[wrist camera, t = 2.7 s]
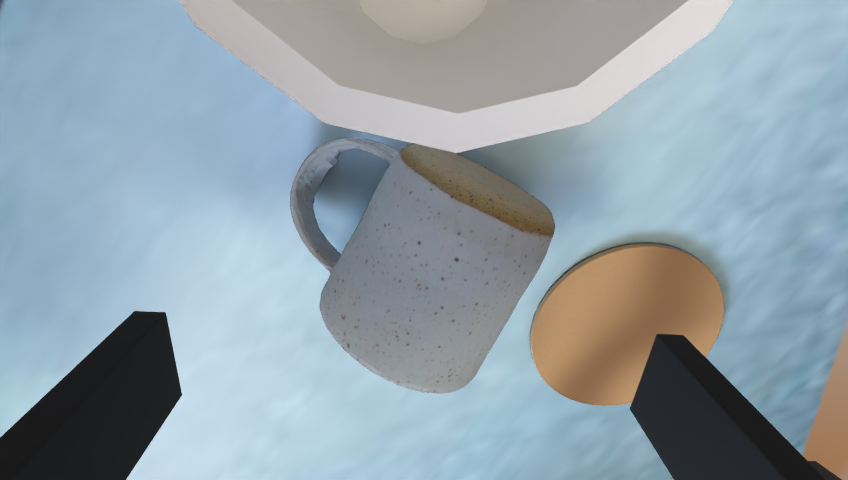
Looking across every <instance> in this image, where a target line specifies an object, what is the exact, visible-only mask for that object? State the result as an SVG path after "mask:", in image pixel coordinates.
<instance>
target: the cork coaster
mask: <svg viewBox="0 0 848 480" xmlns="http://www.w3.org/2000/svg"><path fill="white" fill-rule="evenodd" d="M723 315H724V302H723V295H722V291H721V288H720V285H719V283H718V281H717V279H716V277H715V276H714V274H713V273H712V272H711V271H710V269H709V268H708V267H707V266H706V265H705V264H703V263H702V262H701V261H700V260H698V259H697V258H695V257H694V256H692V255H691V254H689V253H687V252H685V251H683V250H680V249H678V248H675V247H671V246H667V245H662V244H653V243H638V244H631V245H624V246H620V247H616V248H611V249H609V250H606V251H603V252H600V253H598V254H596V255H594V256H592V257H590V258H588V259H586V260H584V261H582V262H581V263H579V264H578V265H576V266H574V267H573V268H572V269H570V270H569V271H568V272H567V273H565V274H564V275H563V276H562V277H561V278H560V279H559V280H558V281H557V282H556V283H555V284H554V285H553V286H552V287H551V289H550V290H549V291H548V292H547V293H546V295H545V296H544V298H543V300H542V301H541V303H540V304H539V307H538V309H537V311H536V313H535V315H534V319H533V322H532V326H531V332H530V349H531V354H532V358H533V360H534V363H535V366H536V368H537V370H538V372H539V373H540V375H541V377H542V378H543V379H544V380H545V381H546V383H547V384H548V385H549V386H551V387H552V388H553V389H554V390H555V391H557V392H558V393H560V394H561V395H563V396H565V397H567V398H570V399H572V400H575V401H578V402H581V403H586V404H591V405H602V406H606V405H621V404H627V403H632V401H633V399H634V396H635V393H636V390H637V388H638V385H639V382H640V379H641V376H642V374H643V371H644V368H645V365H646V362H647V360H648V357H649V354H650V351H651V349H652V346H653V343H654V340H655V337H656V335H657V334H674V335H684V336H685V337H686V338H687V339H688V340H689V341H690V342H691V343H692V344H693V345H694V346H695V347H696V348H697V349H698V350H699V351H700V352H701V353H702V354H703V355H704V356H705V357H706V356H707V354H708V353H709V351H710V350H711V348H712V347H713V345H714V343H715V341H716V339H717V337H718V334H719V331H720V329H721V326H722V321H723Z"/></svg>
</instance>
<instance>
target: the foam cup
mask: <svg viewBox="0 0 848 480" xmlns="http://www.w3.org/2000/svg"><path fill="white" fill-rule="evenodd" d="M179 1H180V2H181V4H182V6H183V7H184V9H185V10H186V12H187V14H188V15H189V17H190V18H191V20H192V21H193V23H194V25H195V26H196V27H197V28H199V29H200V30H201V31H203V32H204V33H205V34H207V35H208V36H209V37H211V38H212V39H213V40H215V41H216V42H217V43H219V44H220V45H221V46H223V47H224V48H225V49H227V50H228V51H229V52H231V53H232V54H233V55H235V56H236V57H237V58H238V59H240V60H241V61H242V62H244V63H245V64H246V65H248V66H249V67H250V68H252V69H253V70H254V71H256V72H257V73H258V74H260V75H261V76H262V77H264V78H265V79H266V80H268V81H269V82H270V83H272V84H273V85H274V86H276V87H277V88H278V89H280V90H281V91H282V92H283V93H285V94H286V95H287V96H289V97H290V98H291V99H293V100H294V101H295V102H297V103H298V104H299V105H301V106H302V107H303V108H305V109H306V110H307V111H309V112H310V113H311V114H313V115H314V116H315V117H317V118H318V119H319V120H321V121H322V122H323V123H326V124H330V125H335V126H339V127H343V128H348V129H352V130H357V131H361V132H366V133H370V134H374V135H379V136H383V137H388V138H392V139H396V140H401V141H405V142H410V143H414V144H419V145H423V146H427V147H432V148H436V149H441V150H445V151H450V152H454V153H460V152H464V151H468V150H472V149H477V148H481V147H485V146H490V145H494V144H498V143H503V142H507V141H511V140H516V139H520V138H524V137H529V136H533V135H537V134H542V133H546V132H550V131H555V130H559V129H563V128H568V127H572V126H576V125H581V124H585V123H588V122H590V121H591V120H593V119H594V118H595V117H597V116H598V115H599V114H601V113H602V112H603V111H605V110H606V109H607V108H609V107H610V106H611V105H613V104H614V103H616V102H617V101H618V100H620V99H621V98H622V97H624V96H625V95H626V94H628V93H629V92H630V91H632V90H633V89H635V88H636V87H637V86H639V85H640V84H641V83H643V82H644V81H645V80H647V79H648V78H649V77H651V76H652V75H654V74H655V73H656V72H658V71H659V70H660V69H662V68H663V67H664V66H666V65H667V64H668V63H670V62H671V61H673V60H674V59H675V58H677V57H678V56H679V55H681V54H682V53H683V52H685V51H686V50H687V49H689V48H690V47H691V46H693V45H694V44H696V43H697V42H698V41H700V40H701V39H702V38H704V37H705V36H706V35H708V34H709V33H710V32H712V31H713V30H714V29H715V27H716V26H717V24H718V23H719V21H720V20H721V18H722V17H723V15H724V14H725V12H726V11H727V9H728V8H729V6H730V5H731V3H732V2H733V1H734V0H179Z"/></svg>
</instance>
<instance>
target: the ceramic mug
mask: <svg viewBox="0 0 848 480" xmlns="http://www.w3.org/2000/svg"><path fill="white" fill-rule="evenodd" d="M356 148H359V149H361V150H364V151H367V152H369V153H372V154H375V155H377V156H378V157H380V158H382V159H385V160H386V161H387V162H388V163H389V167H388V169H387V170H386V171H385V173H384V175H383V177H382V179H381V180H380V182H379V184H378V186H377V188H376V190H375V192H374V194H373V196H372V198H371V200H370V202H369V204H368V207H367V209H366V211H365V212H364V214H363V216H362V218H361V220H360V222H359V224H358V226H357V228H356V230H355V231H354V233H353V235H352V236H351V238H350V240H349V241H348V243H347V245H346V247H345V249H344V251H343V253H342V255H341V254H340V253H339V252H338V251H337V250H336V249H335V248H334V247H333V246H332V245H331V243H330V242H329V241H328V240H327V239H326V237H325V236H324V234H323V233H322V231H321V230H320V229H319V226H318V223H317V221H316V218H315V214H314V211H313V203H314V195H315V193H316V191H317V189H318V188H319V186H320V184H321V182H322V180H323V178H324V177H325V175H326V173H327V172H328V171H329V169H330V168H331V167H332V166H334V165H336V163H337V158H338V154H339V153H341V152H343V151H345V150H349V149H356ZM290 208H291V214H292V218H293V221H294V224H295V227H296V229H297V231H298V233H299V235H300V237H301V239H302V241H303V242H304V244H305V245H306V247H307V248H308V250H309V251H310V252H311V253H312V255H313V256H314V257H315V258H316V259H317V260H318V261H319V262H320V263H321V264H322V265H323V266H324V267H325V268H326V269H328V270H329V271H330V277H329V279H328V281H327V282H326V284H325V286H324V288H323V290H322V293H321V299H320V311H321V315H322V318H323V320H324V322H325V324H326V327H327V329H328V330H329V331H330V333H331V334H332V336H333V338H334V339H335V340H336V341H337V342H338V343H339V344H340V345H341V347H342V348H343V349H344V350H345V351H346V352H347V353H349V354H350V355H351V356H352V357H353V358H354V359H356V360H357V361H358V362H359V363H361V364H362V365H363V366H364V367H366V368H367V369H369V370H370V371H371V372H373V373H375V374H377V375H379V376H381V377H382V378H384V379H386V380H388V381H391V382H393V383H395V384H397V385H399V386H402V387H405V388H408V389H412V390H416V391H420V392H426V393H450V392H454V391H457V390H459V389H461V388H463V387H464V386H466V385H467V384H468V383H469V382H470V381H472V379H473V378H474V376H475V375H476V374H477V372H478V370H479V368H480V366H481V365H482V363H483V361H484V359H485V358H486V356H487V354H488V352H489V351H490V349H491V348H492V346H493V344H494V343H495V341H496V339H497V337H498V336H499V334H500V332H501V331H502V329H503V327H504V326H505V324H506V322H507V321H508V319H509V318H510V316H511V314H512V312H513V310H514V309H515V307H516V305H517V303H518V301H519V300H520V298H521V297H522V295H523V293H524V292H525V290H526V289H527V287H528V286H529V284H530V282H531V281H532V279H533V278H534V276H535V274H536V273H537V271H538V269H539V267H540V265H541V263H542V261H543V260H544V257H545V255H546V253H547V250H548V247H549V245H550V242H551V239H552V237H553V234H554V229H555V224H554V219H553V216H552V213H551V212H550V210H549V209H548V208H547V207H546V206H545V205H544V204H543V203H542V202H541V201H539V200H538V199H536V198H535V197H534V196H532V195H531V194H529V193H528V192H526V191H525V190H523V189H521V188H520V187H518V186H517V185H515V184H513V183H511V182H510V181H508V180H506V179H505V178H503V177H501V176H499V175H498V174H496V173H494V172H492V171H490V170H489V169H487V168H485V167H483V166H481V165H479V164H477V163H475V162H473V161H471V160H469V159H467V158H465V157H463V156H461V155H458V154H456V153H454V152H450V151H445V150H441V149H436V148H432V147H427V146H423V145H419V144H411V145H408V146H407V147H405V148H403V150H402V151H401V152H400V153H399V152H398V151H396V150H394V149H393V148H392V147H390V146H388V145H385V144H382V143H378V142H375V141H372V140H368V139H360V138H350V137H348V138H339V139H335V140H332V141H328V142H326V143H325V144H323V145H321V146H319V147H317V148H316V149H315V150H314V151H313V152H312V153H311V154H310V155H309V156H308V157H307V158H306V159H305V160H304V162H303V163H302V165H301V167H300V169H299V171H298V173H297V175H296V177H295V180H294V182H293V185H292V189H291V195H290Z"/></svg>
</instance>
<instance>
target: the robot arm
mask: <svg viewBox="0 0 848 480" xmlns="http://www.w3.org/2000/svg"><path fill="white" fill-rule="evenodd" d="M181 396H182V393H181V388H180V383H179V378H178V373H177V368H176V362H175V357H174V352H173V347H172V342H171V337H170V332H169V327H168V322H167V317H166V313H165V312H141V311H134V312H133V313H132V314H131V315H130V316H129V317H128V318H127V319H126V320H125V321H124V322H123V323H122V324H120V325H119V326H118V327H117V328H116V329H115V330H114V331H113V332H112V333H111V334H110V335H109V336H108V337H107V338H106V339H105V340H103V341H102V342H101V343H100V344H99V345H98V346H97V347H96V348H95V349H94V350H93V351H92V352H91V353H90V354H89V355H88V356H86V357H85V358H84V359H83V360H82V361H81V362H80V363H79V364H78V365H77V366H76V367H75V368H74V369H73V370H72V371H71V372H70V373H68V374H67V375H66V376H65V377H64V378H63V379H62V380H61V381H60V382H59V383H58V384H57V385H56V386H55V387H54V388H53V389H51V390H50V391H49V392H48V393H47V394H46V395H45V396H44V397H43V398H42V399H41V400H40V401H39V402H38V403H37V404H36V405H34V406H33V407H32V408H31V409H30V410H29V411H28V412H27V413H26V414H25V415H24V416H23V417H22V418H21V419H20V420H19V421H17V422H16V423H15V424H14V425H13V426H12V427H11V428H10V429H9V430H8V431H7V432H6V433H5V434H4V435H3V436H2V437H0V480H126V479H127V477H128V476H129V474H130V473H131V471H132V470H133V468H134V467H135V465H136V464H137V462H138V461H139V459H140V458H141V456H142V455H143V453H144V451H145V450H146V448H147V447H148V445H149V444H150V442H151V441H152V439H153V438H154V436H155V435H156V433H157V432H158V430H159V429H160V427H161V426H162V424H163V423H164V421H165V420H166V418H167V417H168V415H169V414H170V412H171V411H172V409H173V408H174V406H175V405H176V403H177V402H178V400H179V399H180V397H181ZM630 410H631V412H632V413H633V415H634V416H635V418H636V420H637V421H638V423H639V424H640V426H641V428H642V429H643V431H644V432H645V434H646V436H647V437H648V439H649V440H650V442H651V443H652V445H653V447H654V448H655V450H656V451H657V453H658V455H659V456H660V458H661V459H662V461H663V463H664V464H665V466H666V467H667V469H668V471H669V472H670V474H671V475H672V477H673V479H674V480H841V479H840V478H839V477H837V476H836V475H834V474H833V473H831V472H830V471H829V470H827V469H826V468H824V467H823V466H822V465H820V464H819V463H817V462H816V461H807V460H806V459H805V458H804V457H803V456H802V455H801V454H800V453H799V452H798V451H797V450H796V449H795V448H794V447H793V446H792V445H791V444H790V443H789V442H788V441H787V440H786V439H785V438H784V437H783V436H782V435H781V434H780V433H779V432H778V431H777V430H776V429H775V428H774V427H773V426H772V425H771V424H770V422H769V421H768V420H767V419H766V418H765V417H764V416H763V415H762V414H761V413H760V412H759V411H758V410H757V409H756V408H755V407H754V406H753V405H752V404H751V403H750V402H749V401H748V400H747V399H746V398H745V397H744V396H743V395H742V394H741V393H740V392H739V391H738V390H737V389H736V388H735V387H734V386H733V385H732V384H731V383H730V382H729V381H728V380H727V379H726V378H725V377H724V376H723V375H722V374H721V373H720V372H719V371H718V370H717V369H716V368H715V367H714V366H713V365H712V364H711V363H710V362H709V360H708V359H707V358H706V357H705V356H704V355H703V354H702V353H701V352H700V351H699V350H698V349H697V348H696V347H695V346H694V345H693V344H692V343H691V342H690V341H689V340H688V339H687V338H686V337H685V336H684V335H674V334H657V335H656V337H655V340H654V343H653V346H652V349H651V351H650V354H649V357H648V360H647V362H646V365H645V368H644V371H643V374H642V376H641V379H640V382H639V385H638V388H637V390H636V393H635V396H634V399H633V401H632V404H631V407H630Z"/></svg>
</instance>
